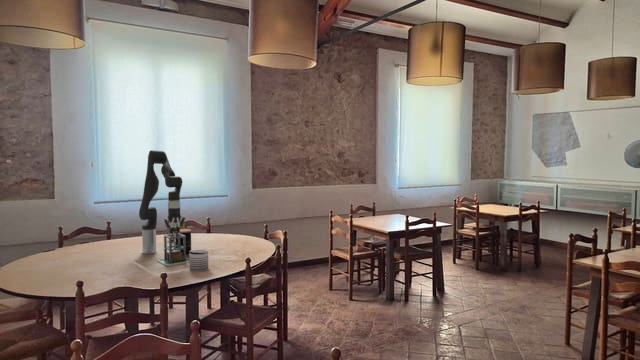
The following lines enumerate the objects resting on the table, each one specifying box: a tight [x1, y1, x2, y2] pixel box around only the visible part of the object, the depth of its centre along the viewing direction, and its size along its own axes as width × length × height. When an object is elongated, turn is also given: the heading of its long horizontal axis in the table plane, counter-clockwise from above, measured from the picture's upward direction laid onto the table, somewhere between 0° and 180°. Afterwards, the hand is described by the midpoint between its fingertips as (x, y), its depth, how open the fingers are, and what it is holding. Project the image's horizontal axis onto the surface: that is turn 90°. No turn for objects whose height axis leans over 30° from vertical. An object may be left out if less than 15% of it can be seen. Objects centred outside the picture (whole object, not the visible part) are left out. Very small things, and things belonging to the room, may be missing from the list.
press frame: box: [163, 233, 187, 264], centre depth 284 cm, size 11×11×17 cm
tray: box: [156, 256, 190, 267], centre depth 285 cm, size 16×18×2 cm
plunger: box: [172, 226, 180, 253], centre depth 284 cm, size 7×7×16 cm
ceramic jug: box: [167, 218, 188, 242], centre depth 355 cm, size 17×15×30 cm
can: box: [188, 249, 209, 273], centre depth 270 cm, size 11×11×12 cm
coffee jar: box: [176, 228, 192, 257], centre depth 304 cm, size 11×11×18 cm
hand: (174, 233), depth 283 cm, fingers closed on plunger, 3 cm apart
